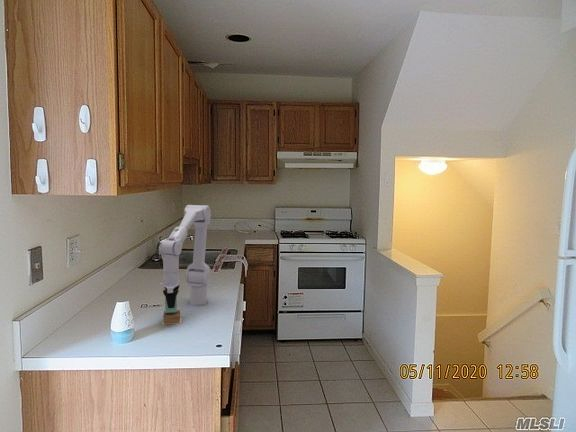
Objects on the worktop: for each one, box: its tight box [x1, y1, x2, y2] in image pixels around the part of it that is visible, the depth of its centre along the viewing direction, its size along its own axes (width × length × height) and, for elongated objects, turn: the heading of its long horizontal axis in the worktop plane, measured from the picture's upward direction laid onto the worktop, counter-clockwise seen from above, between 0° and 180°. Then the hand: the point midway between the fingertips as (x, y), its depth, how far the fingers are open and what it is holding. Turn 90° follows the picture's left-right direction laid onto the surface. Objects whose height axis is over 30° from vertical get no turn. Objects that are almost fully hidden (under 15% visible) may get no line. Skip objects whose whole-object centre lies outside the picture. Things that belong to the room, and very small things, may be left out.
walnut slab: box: [162, 309, 181, 325], centre depth 153 cm, size 6×6×3 cm
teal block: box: [164, 295, 178, 313], centre depth 152 cm, size 4×4×5 cm
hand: (171, 305), depth 152 cm, fingers closed on teal block, 4 cm apart
